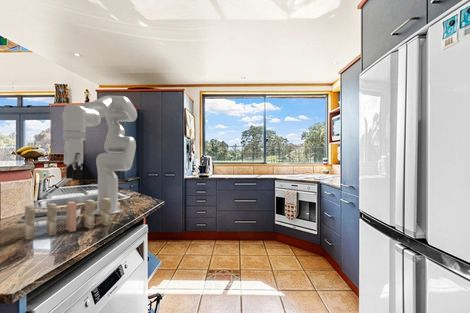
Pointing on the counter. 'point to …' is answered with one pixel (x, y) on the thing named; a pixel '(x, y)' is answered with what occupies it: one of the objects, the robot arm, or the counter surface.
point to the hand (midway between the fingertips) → (73, 179)
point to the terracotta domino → (71, 216)
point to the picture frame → (43, 215)
